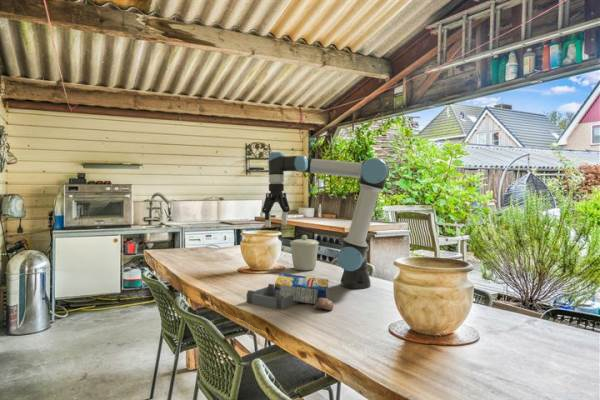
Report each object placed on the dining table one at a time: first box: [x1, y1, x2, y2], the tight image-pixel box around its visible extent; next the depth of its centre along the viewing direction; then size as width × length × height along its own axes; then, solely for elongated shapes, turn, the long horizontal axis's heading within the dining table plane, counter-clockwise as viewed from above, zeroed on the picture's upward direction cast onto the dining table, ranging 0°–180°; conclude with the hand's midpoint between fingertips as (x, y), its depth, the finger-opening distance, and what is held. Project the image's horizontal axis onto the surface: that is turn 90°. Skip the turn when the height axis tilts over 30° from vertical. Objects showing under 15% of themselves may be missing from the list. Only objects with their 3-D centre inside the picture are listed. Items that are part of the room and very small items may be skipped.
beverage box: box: [273, 272, 329, 305], centre depth 178 cm, size 7×11×22 cm
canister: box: [289, 234, 320, 272], centre depth 252 cm, size 18×18×21 cm
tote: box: [246, 283, 300, 310], centre depth 179 cm, size 19×16×5 cm
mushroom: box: [313, 297, 334, 311], centre depth 167 cm, size 8×6×8 cm
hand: (276, 225), depth 206 cm, fingers open, 13 cm apart
